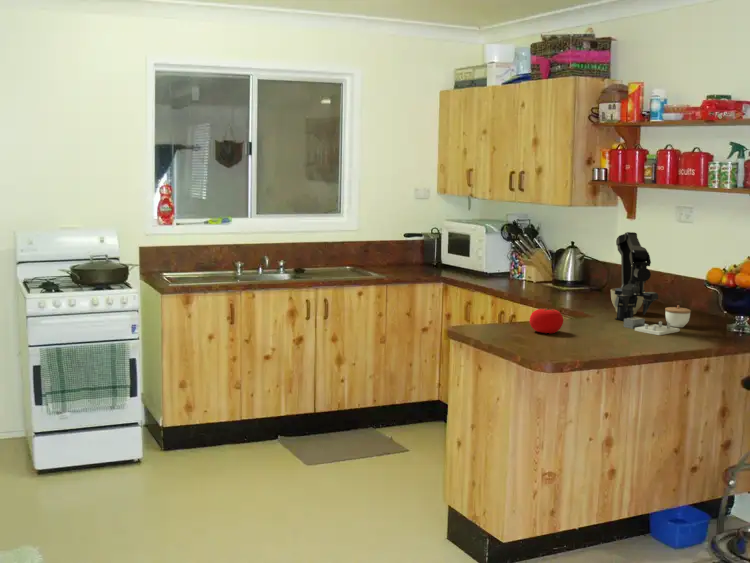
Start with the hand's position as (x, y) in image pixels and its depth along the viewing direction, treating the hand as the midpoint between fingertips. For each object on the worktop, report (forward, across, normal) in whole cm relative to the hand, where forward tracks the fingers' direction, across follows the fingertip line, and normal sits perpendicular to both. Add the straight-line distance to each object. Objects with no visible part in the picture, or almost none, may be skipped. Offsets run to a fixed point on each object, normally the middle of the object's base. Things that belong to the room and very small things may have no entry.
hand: (634, 313), depth 402 cm
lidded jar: (+6, +9, +20) cm, 23 cm away
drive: (+6, 0, 0) cm, 7 cm away
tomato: (+6, -13, -45) cm, 47 cm away
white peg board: (+6, +11, +1) cm, 13 cm away
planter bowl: (+7, -24, +30) cm, 39 cm away
